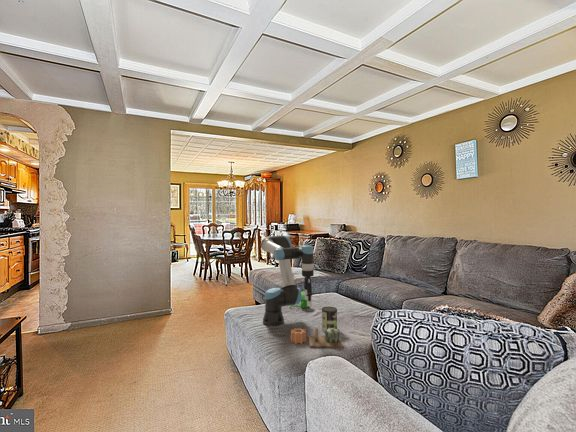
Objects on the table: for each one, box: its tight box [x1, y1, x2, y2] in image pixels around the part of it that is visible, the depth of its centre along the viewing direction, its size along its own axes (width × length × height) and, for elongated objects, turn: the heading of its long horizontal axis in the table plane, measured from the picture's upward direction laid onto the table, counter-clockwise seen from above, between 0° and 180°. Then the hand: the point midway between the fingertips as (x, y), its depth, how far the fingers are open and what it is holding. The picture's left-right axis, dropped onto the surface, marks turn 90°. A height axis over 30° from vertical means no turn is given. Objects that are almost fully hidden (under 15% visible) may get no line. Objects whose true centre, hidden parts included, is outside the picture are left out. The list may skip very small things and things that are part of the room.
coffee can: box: [321, 306, 338, 333], centre depth 201 cm, size 10×10×14 cm
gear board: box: [307, 327, 344, 349], centre depth 182 cm, size 19×14×8 cm
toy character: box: [288, 290, 310, 309], centre depth 249 cm, size 10×18×13 cm, turn 84°
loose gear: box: [290, 327, 307, 345], centre depth 185 cm, size 9×9×6 cm
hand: (308, 302), depth 194 cm, fingers open, 13 cm apart
